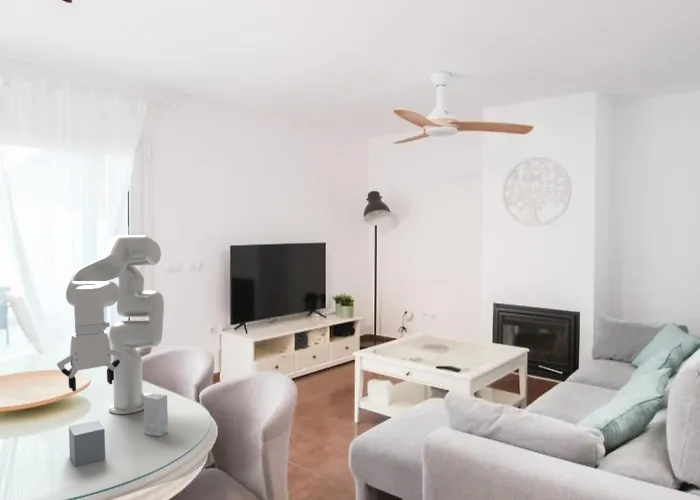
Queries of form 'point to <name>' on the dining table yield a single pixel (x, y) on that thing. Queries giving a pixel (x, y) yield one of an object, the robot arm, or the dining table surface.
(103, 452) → the grey matte cube
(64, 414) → the dining table surface
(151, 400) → the skincare box
